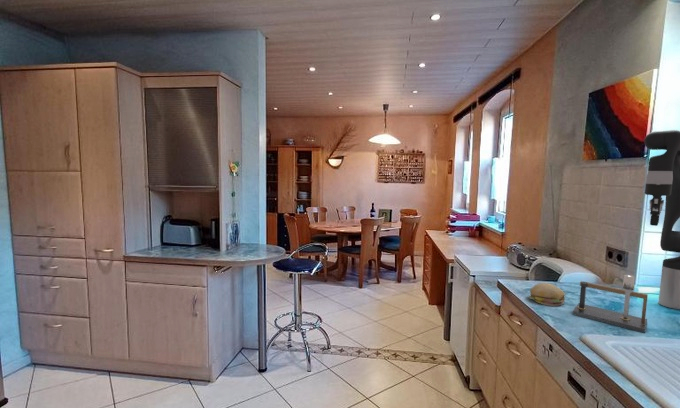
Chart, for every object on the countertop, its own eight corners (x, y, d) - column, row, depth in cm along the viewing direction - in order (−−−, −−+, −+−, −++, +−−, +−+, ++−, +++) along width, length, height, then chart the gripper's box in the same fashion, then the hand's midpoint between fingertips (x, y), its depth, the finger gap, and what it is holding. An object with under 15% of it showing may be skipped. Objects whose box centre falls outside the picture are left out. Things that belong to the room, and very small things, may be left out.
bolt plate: (578, 306, 146) (580, 279, 145) (646, 322, 131) (650, 292, 130) (572, 314, 138) (575, 285, 136) (644, 333, 122) (648, 300, 121)
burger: (570, 308, 144) (572, 290, 144) (534, 305, 147) (535, 287, 146) (557, 297, 157) (558, 280, 156) (524, 294, 160) (525, 278, 159)
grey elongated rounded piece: (621, 314, 134) (625, 273, 132) (631, 317, 132) (635, 275, 130) (619, 318, 130) (623, 275, 129) (630, 320, 128) (634, 277, 127)
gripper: (646, 182, 138) (642, 221, 140) (644, 182, 128) (640, 224, 130) (672, 183, 133) (667, 223, 134) (672, 183, 123) (667, 227, 124)
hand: (654, 224), depth 132 cm, fingers open, 8 cm apart
